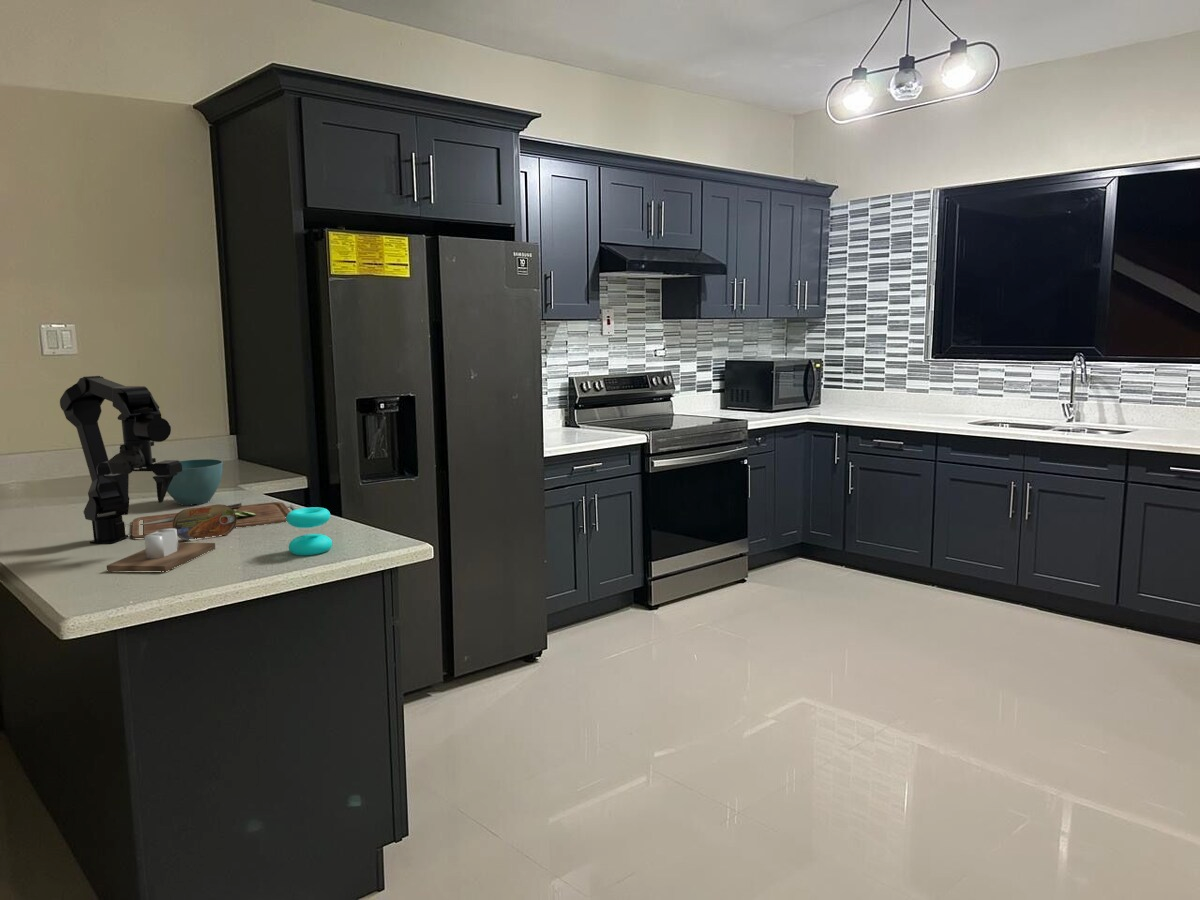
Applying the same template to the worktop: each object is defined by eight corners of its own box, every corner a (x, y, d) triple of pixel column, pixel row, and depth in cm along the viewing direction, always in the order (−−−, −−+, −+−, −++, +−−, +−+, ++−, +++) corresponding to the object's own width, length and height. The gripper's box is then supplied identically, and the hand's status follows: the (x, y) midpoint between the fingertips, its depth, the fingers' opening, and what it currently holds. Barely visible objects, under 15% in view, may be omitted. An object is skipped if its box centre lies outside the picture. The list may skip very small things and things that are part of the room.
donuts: (330, 504, 211) (329, 513, 201) (333, 544, 212) (332, 554, 203) (287, 508, 208) (284, 516, 198) (290, 548, 209) (287, 558, 200)
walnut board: (107, 571, 192) (106, 565, 192) (161, 548, 211) (161, 542, 211) (165, 572, 190) (165, 566, 190) (215, 548, 210) (214, 542, 210)
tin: (175, 543, 216) (172, 511, 215) (173, 541, 219) (169, 509, 217) (238, 534, 225) (235, 502, 224) (235, 531, 227) (232, 500, 226)
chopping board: (121, 544, 219) (120, 532, 218) (123, 523, 242) (122, 512, 242) (304, 521, 239) (303, 511, 239) (290, 504, 263) (289, 494, 262)
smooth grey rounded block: (142, 558, 196) (140, 537, 196) (166, 548, 205) (164, 528, 204) (158, 559, 196) (156, 537, 195) (182, 548, 205) (180, 528, 204)
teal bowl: (225, 505, 261) (221, 465, 259) (158, 511, 255) (154, 470, 253) (226, 494, 278) (223, 457, 276) (164, 500, 271) (160, 461, 269)
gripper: (77, 443, 200) (84, 509, 202) (152, 444, 197) (158, 510, 200) (109, 437, 211) (115, 499, 213) (180, 437, 208) (186, 500, 211)
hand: (143, 502), depth 209 cm, fingers open, 9 cm apart
